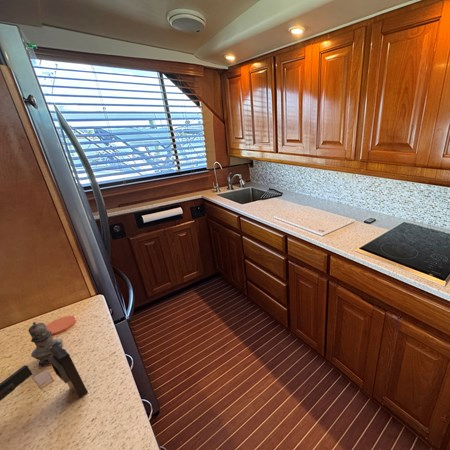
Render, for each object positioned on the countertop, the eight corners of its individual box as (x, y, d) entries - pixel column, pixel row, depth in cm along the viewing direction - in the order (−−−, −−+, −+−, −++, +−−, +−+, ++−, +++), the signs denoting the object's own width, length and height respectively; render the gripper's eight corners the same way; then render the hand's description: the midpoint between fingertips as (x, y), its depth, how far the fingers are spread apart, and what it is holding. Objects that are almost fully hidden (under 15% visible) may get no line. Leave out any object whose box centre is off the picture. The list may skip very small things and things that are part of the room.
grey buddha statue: (37, 357, 63) (17, 322, 58) (67, 344, 67) (50, 310, 62) (36, 372, 59) (14, 335, 54) (68, 357, 63) (50, 321, 58)
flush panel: (77, 382, 56) (58, 344, 52) (88, 392, 54) (68, 353, 50) (65, 391, 54) (44, 352, 50) (75, 401, 52) (54, 362, 48)
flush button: (49, 377, 51) (44, 367, 50) (55, 383, 49) (50, 373, 48) (36, 385, 49) (30, 375, 48) (42, 392, 48) (36, 382, 47)
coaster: (36, 333, 71) (35, 331, 70) (64, 315, 77) (64, 314, 77) (55, 337, 69) (54, 336, 69) (82, 318, 76) (82, 317, 76)
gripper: (-230, 499, 37) (-33, 371, 56) (-109, 533, 33) (56, 384, 53) (-273, 471, 34) (-50, 347, 53) (-146, 506, 30) (43, 360, 50)
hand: (3, 366), depth 53 cm, fingers open, 13 cm apart
